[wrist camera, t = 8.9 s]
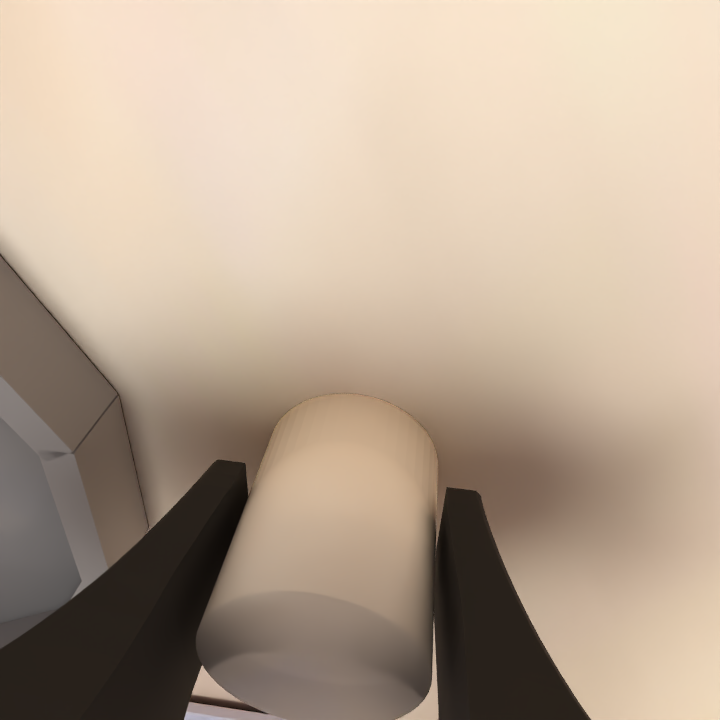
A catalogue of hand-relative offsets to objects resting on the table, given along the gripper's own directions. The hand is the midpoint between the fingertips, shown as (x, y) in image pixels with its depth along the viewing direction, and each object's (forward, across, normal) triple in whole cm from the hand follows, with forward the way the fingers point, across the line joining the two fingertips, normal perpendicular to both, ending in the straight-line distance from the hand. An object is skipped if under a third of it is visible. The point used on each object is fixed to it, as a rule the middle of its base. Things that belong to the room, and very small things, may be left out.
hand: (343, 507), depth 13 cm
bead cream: (+2, 0, 0) cm, 2 cm away
